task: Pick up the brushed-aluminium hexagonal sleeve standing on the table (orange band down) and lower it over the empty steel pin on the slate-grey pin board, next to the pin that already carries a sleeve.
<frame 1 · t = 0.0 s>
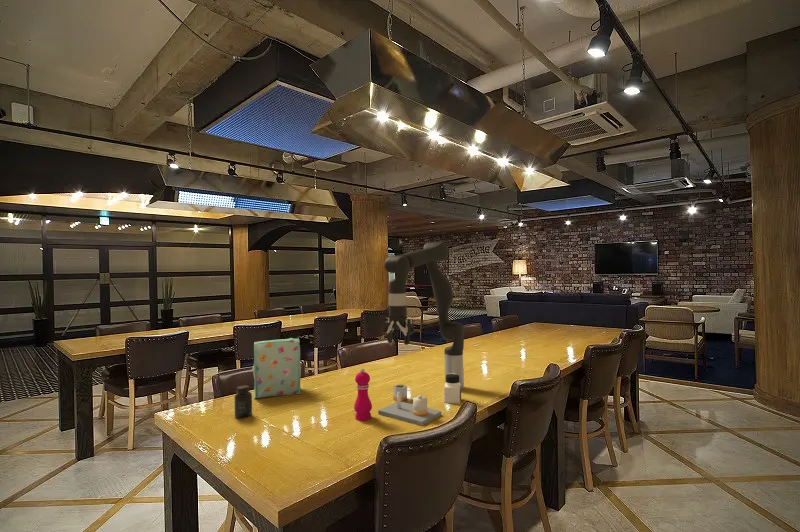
hand: (398, 343, 161), 29 cm above the table, fingers open, 8 cm apart
lunch bag: (277, 393, 194), on the table
supplement bottle: (243, 416, 163), on the table
medicine bottle: (452, 401, 177), on the table
sleeve: (400, 399, 181), on the table
pin board: (409, 414, 161), on the table
pepper mill: (363, 418, 158), on the table
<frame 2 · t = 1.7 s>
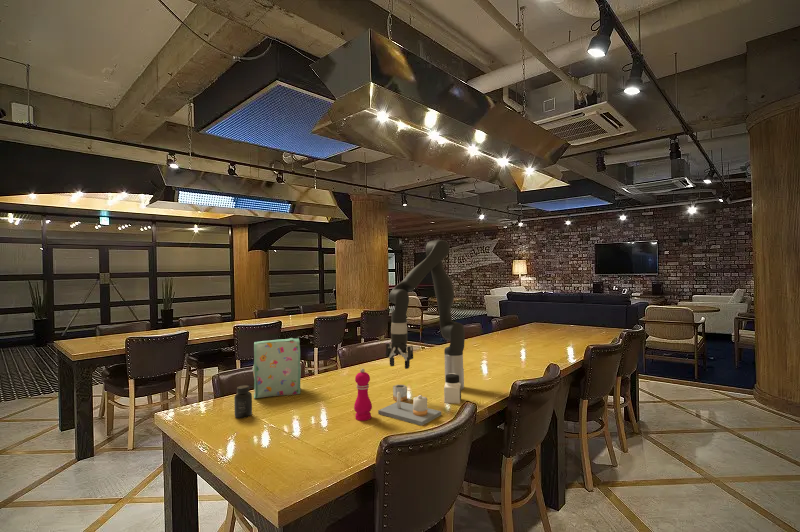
hand: (399, 367, 181), 15 cm above the table, fingers open, 8 cm apart
nothing on the table moved.
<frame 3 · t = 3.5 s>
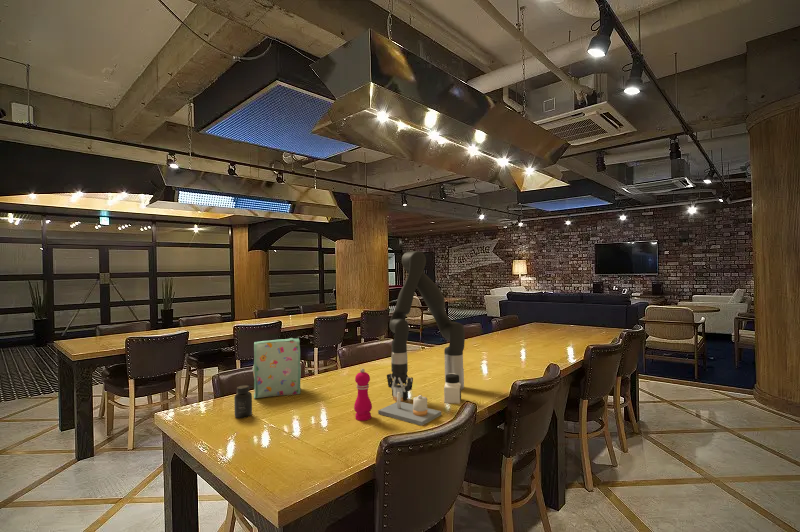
hand: (400, 398, 181), 1 cm above the table, fingers closed on sleeve, 5 cm apart
sleeve: (400, 399, 181), on the table, touching gripper
everything else where it was.
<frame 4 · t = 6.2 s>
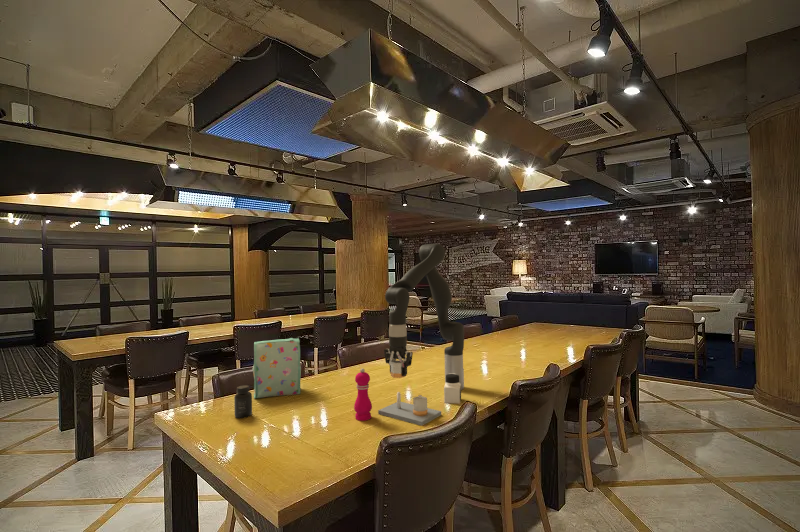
hand: (398, 374, 165), 15 cm above the table, fingers closed on sleeve, 5 cm apart
sleeve: (398, 376, 165), point 15 cm above the table, touching gripper
everything else where it was.
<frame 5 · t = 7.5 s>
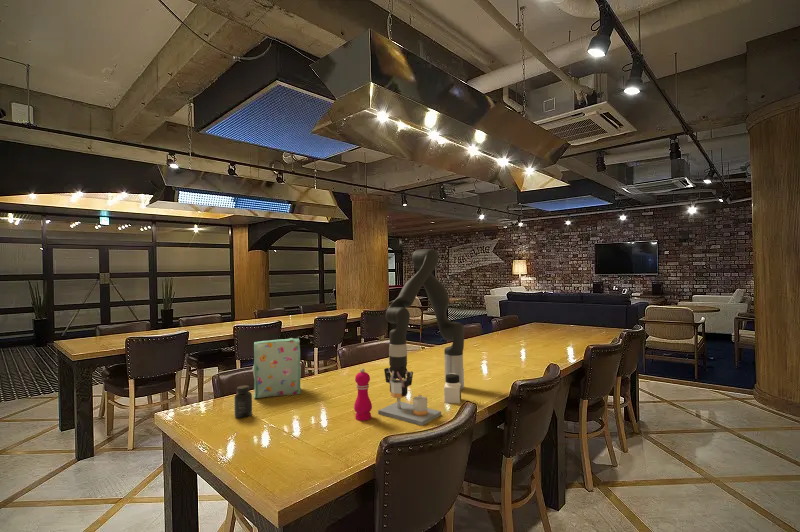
hand: (398, 394, 165), 7 cm above the table, fingers closed on sleeve, 5 cm apart
sleeve: (398, 395, 165), point 7 cm above the table, touching gripper
everything else where it was.
when the fingers open (3 cm above the table, at t = 8.8 s): sleeve drops 1 cm, resting on pin board.
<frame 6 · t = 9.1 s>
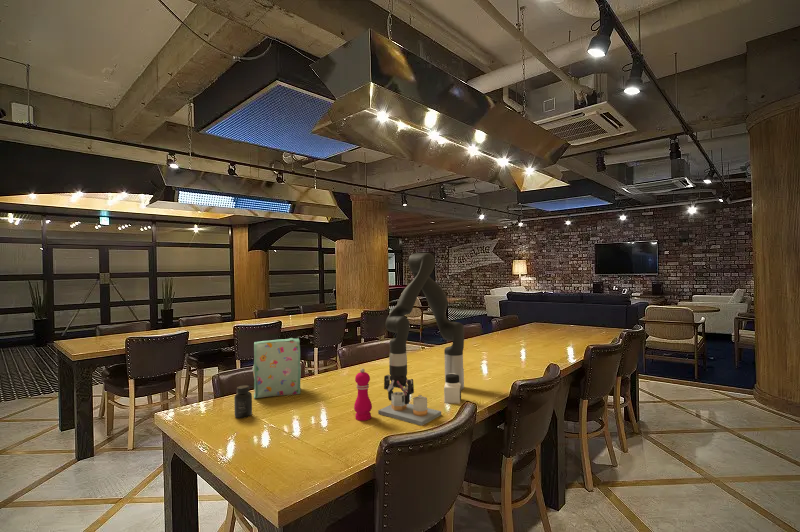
hand: (398, 402, 165), 4 cm above the table, fingers open, 8 cm apart
sleeve: (399, 408, 165), point 1 cm above the table, touching pin board
everything else where it was.
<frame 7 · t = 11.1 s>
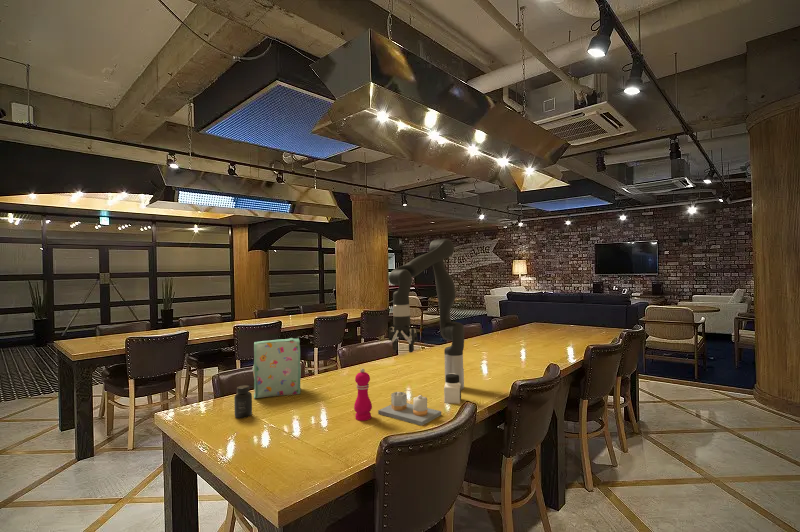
hand: (403, 351, 173), 24 cm above the table, fingers open, 8 cm apart
nothing on the table moved.
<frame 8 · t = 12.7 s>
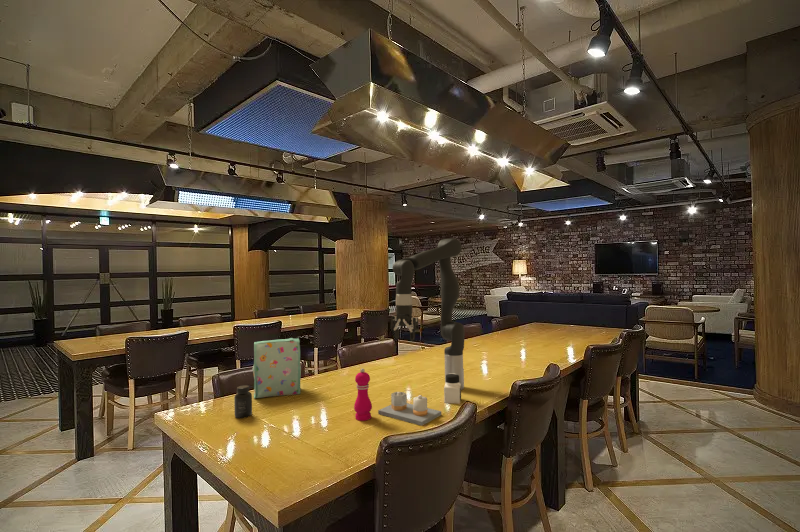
hand: (404, 339, 178), 28 cm above the table, fingers open, 8 cm apart
nothing on the table moved.
at the end: sleeve 0.1 cm from the target spot on the pin board, point 1.5 cm above the pin board's base; sleeve tilted 0°; the gripper is holding nothing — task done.
